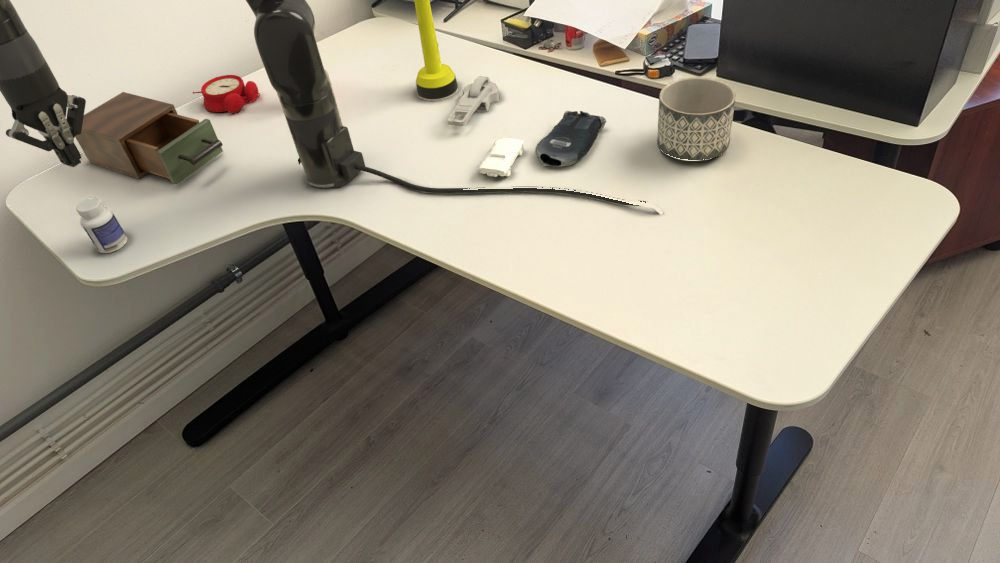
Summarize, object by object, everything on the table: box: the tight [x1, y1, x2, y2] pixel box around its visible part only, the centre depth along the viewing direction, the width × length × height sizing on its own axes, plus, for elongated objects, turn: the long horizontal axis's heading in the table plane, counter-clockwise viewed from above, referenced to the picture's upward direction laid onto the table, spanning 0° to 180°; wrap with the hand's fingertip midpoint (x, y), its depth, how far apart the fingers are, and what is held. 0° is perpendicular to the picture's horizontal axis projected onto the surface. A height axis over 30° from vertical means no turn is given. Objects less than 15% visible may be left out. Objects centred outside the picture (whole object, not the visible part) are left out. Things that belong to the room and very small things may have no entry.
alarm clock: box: [192, 74, 261, 114], centre depth 161 cm, size 10×6×15 cm
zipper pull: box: [447, 76, 500, 127], centre depth 147 cm, size 8×18×4 cm, turn 161°
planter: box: [656, 76, 737, 160], centre depth 128 cm, size 13×13×10 cm
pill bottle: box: [75, 197, 128, 254], centre depth 125 cm, size 5×5×9 cm
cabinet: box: [74, 91, 179, 180], centre depth 147 cm, size 16×14×9 cm
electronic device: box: [535, 110, 607, 168], centre depth 134 cm, size 9×6×15 cm
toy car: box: [477, 137, 525, 178], centre depth 133 cm, size 6×12×3 cm, turn 160°
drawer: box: [124, 112, 224, 186], centre depth 141 cm, size 19×12×7 cm, turn 60°
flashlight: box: [413, 0, 459, 102], centre depth 148 cm, size 25×9×9 cm
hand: (74, 163), depth 119 cm, fingers closed
